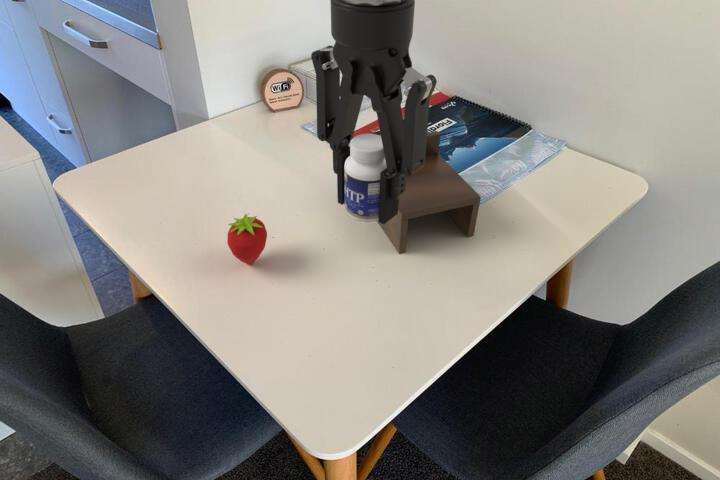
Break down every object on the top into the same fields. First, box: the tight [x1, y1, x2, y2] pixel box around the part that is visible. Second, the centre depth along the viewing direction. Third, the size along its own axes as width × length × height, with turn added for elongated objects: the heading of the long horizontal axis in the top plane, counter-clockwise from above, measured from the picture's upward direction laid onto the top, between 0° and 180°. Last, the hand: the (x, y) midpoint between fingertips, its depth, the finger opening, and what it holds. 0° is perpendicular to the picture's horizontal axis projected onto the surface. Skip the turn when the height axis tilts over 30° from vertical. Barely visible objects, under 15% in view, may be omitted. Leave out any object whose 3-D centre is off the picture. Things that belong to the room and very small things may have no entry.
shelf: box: [376, 130, 482, 254], centre depth 89 cm, size 16×14×12 cm
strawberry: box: [226, 212, 268, 266], centre depth 80 cm, size 6×8×10 cm
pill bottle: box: [344, 133, 387, 223], centre depth 58 cm, size 5×5×9 cm
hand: (367, 207), depth 61 cm, fingers closed on pill bottle, 5 cm apart
